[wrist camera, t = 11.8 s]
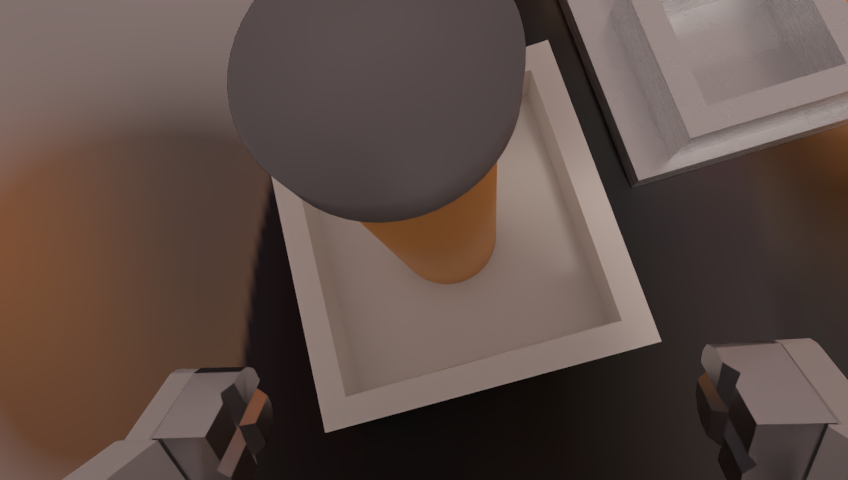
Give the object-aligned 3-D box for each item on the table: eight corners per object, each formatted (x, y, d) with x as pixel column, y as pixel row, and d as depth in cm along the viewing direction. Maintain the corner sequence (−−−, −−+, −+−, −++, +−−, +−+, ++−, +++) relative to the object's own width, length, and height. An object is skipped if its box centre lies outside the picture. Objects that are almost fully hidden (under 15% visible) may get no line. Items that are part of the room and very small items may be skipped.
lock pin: (521, 275, 20) (570, 150, 7) (405, 308, 20) (256, 245, 7) (486, 166, 21) (474, -110, 8) (377, 198, 21) (206, -16, 9)
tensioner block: (874, 116, 20) (947, 73, 17) (631, 188, 21) (657, 160, 18) (752, -113, 23) (795, -187, 20) (541, -43, 24) (549, -103, 20)
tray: (636, 341, 20) (661, 341, 17) (348, 420, 20) (325, 433, 18) (540, 79, 22) (547, 39, 19) (290, 158, 23) (261, 131, 20)
